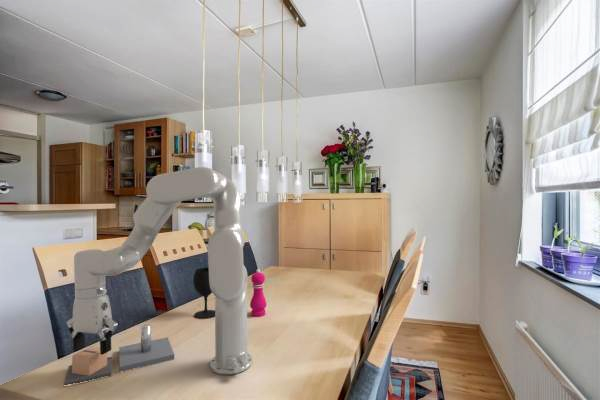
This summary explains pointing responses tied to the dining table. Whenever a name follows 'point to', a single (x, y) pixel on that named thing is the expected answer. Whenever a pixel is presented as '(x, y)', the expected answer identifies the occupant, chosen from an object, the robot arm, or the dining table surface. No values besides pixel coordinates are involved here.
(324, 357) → the dining table surface
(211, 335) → the dining table surface
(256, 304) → the pepper mill
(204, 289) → the wine glass
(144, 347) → the post
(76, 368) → the tan slotted box
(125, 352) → the stand
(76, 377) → the pad
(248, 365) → the robot arm
